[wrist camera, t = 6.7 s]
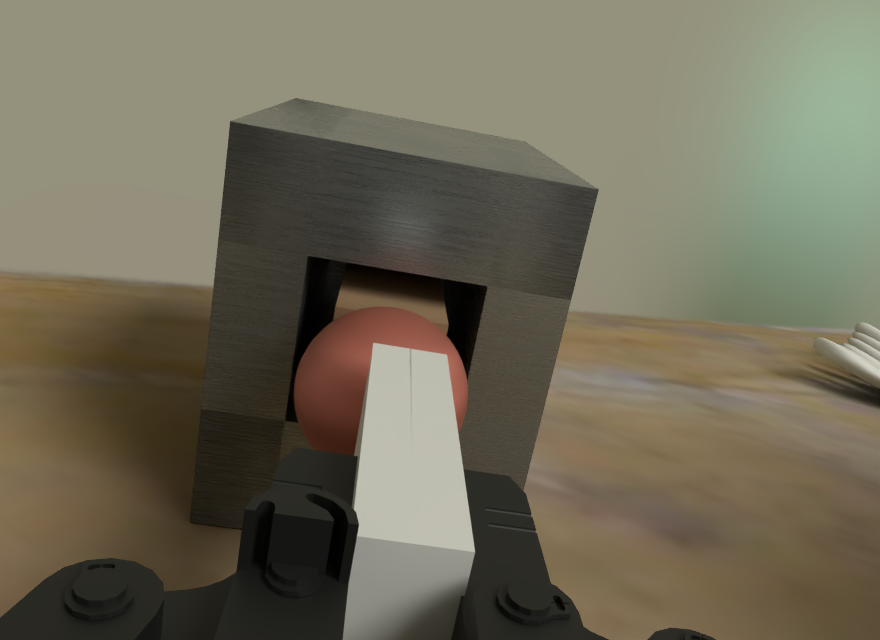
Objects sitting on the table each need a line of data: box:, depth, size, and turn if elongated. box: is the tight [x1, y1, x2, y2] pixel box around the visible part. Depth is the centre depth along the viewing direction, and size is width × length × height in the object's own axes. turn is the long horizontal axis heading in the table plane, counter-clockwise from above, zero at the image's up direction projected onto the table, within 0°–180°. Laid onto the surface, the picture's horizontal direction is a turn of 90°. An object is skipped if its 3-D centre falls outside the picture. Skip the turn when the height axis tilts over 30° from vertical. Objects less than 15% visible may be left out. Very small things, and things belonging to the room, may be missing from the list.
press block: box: [190, 98, 598, 529], centre depth 26 cm, size 12×9×11 cm
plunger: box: [294, 262, 468, 456], centre depth 22 cm, size 14×4×4 cm, turn 3°
